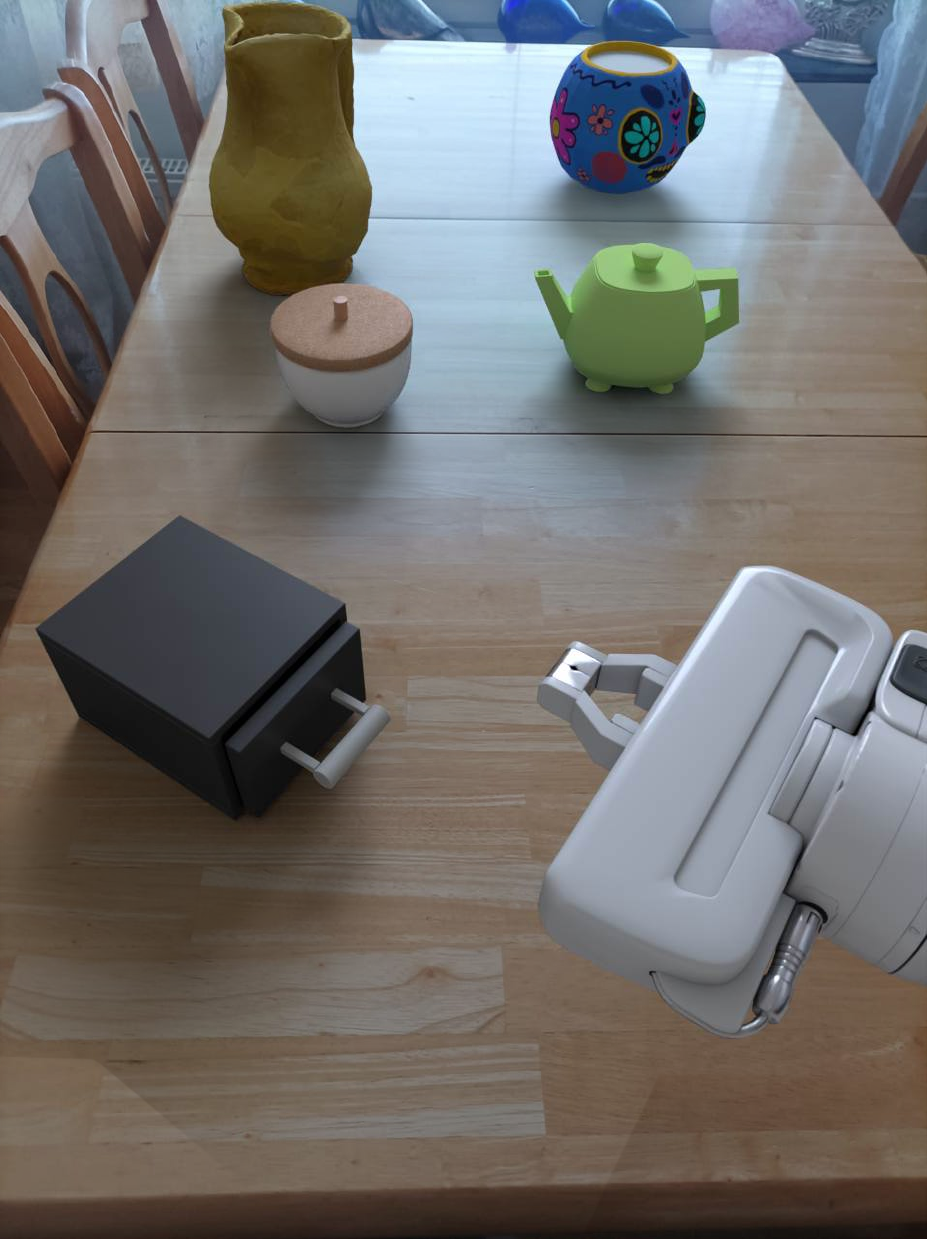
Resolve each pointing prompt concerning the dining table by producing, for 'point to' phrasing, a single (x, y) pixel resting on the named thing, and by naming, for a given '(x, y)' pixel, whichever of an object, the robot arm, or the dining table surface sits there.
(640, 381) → the teapot
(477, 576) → the dining table surface
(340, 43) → the pitcher
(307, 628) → the cabinet
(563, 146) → the ceramic pot
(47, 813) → the dining table surface
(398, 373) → the lidded bowl
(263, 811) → the drawer
